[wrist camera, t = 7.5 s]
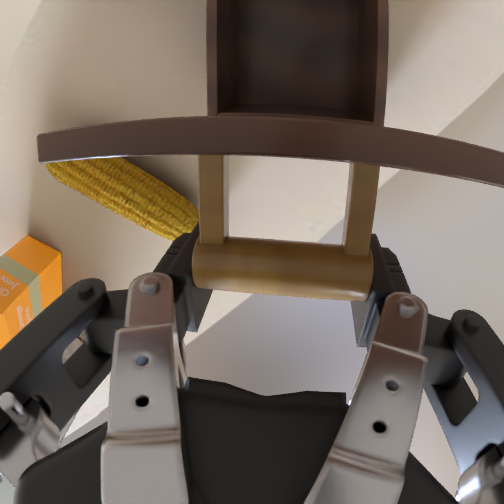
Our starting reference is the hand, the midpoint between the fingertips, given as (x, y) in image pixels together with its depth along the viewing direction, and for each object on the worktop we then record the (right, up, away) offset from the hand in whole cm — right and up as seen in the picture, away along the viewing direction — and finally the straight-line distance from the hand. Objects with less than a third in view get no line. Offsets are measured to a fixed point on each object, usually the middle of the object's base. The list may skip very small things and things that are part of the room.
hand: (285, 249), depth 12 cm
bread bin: (+3, +20, +13) cm, 24 cm away
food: (-15, +8, +23) cm, 28 cm away
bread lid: (+1, +6, +1) cm, 6 cm away
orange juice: (-35, -2, +32) cm, 47 cm away
